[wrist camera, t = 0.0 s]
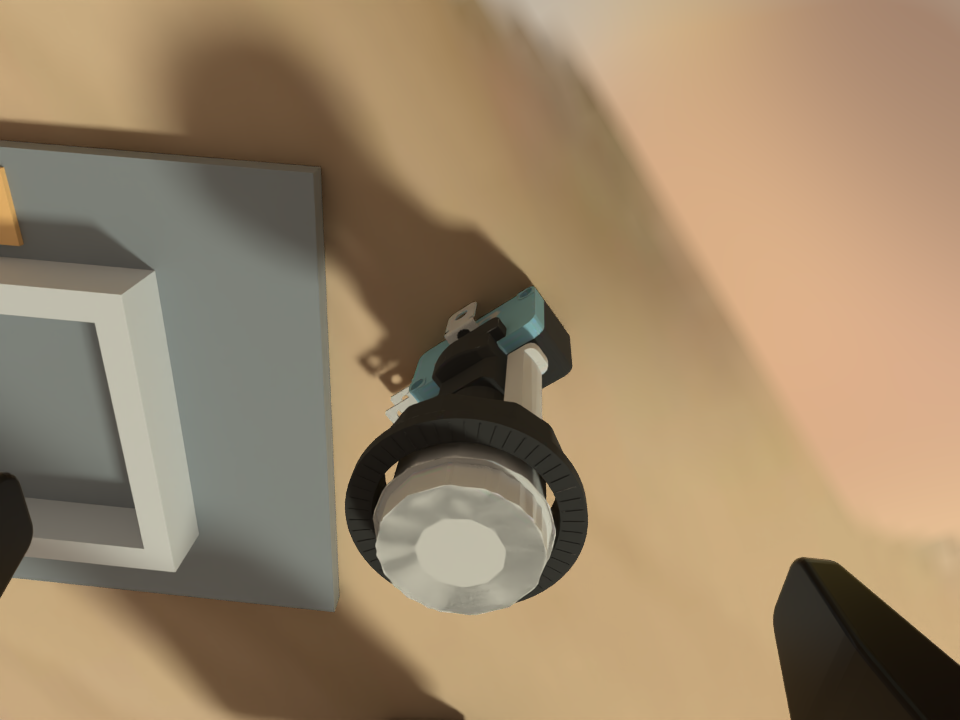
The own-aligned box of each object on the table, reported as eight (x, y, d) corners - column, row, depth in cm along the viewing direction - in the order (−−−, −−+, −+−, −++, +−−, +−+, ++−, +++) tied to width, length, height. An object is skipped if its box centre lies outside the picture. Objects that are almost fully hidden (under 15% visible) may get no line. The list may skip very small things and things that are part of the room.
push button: (443, 448, 25) (391, 691, 17) (349, 339, 24) (235, 547, 15) (601, 360, 23) (639, 585, 14) (511, 232, 21) (492, 400, 13)
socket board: (339, 597, 29) (320, 652, 27) (-117, 548, 30) (-176, 598, 28) (320, 167, 21) (291, 190, 18) (-315, 113, 22) (-425, 129, 19)
